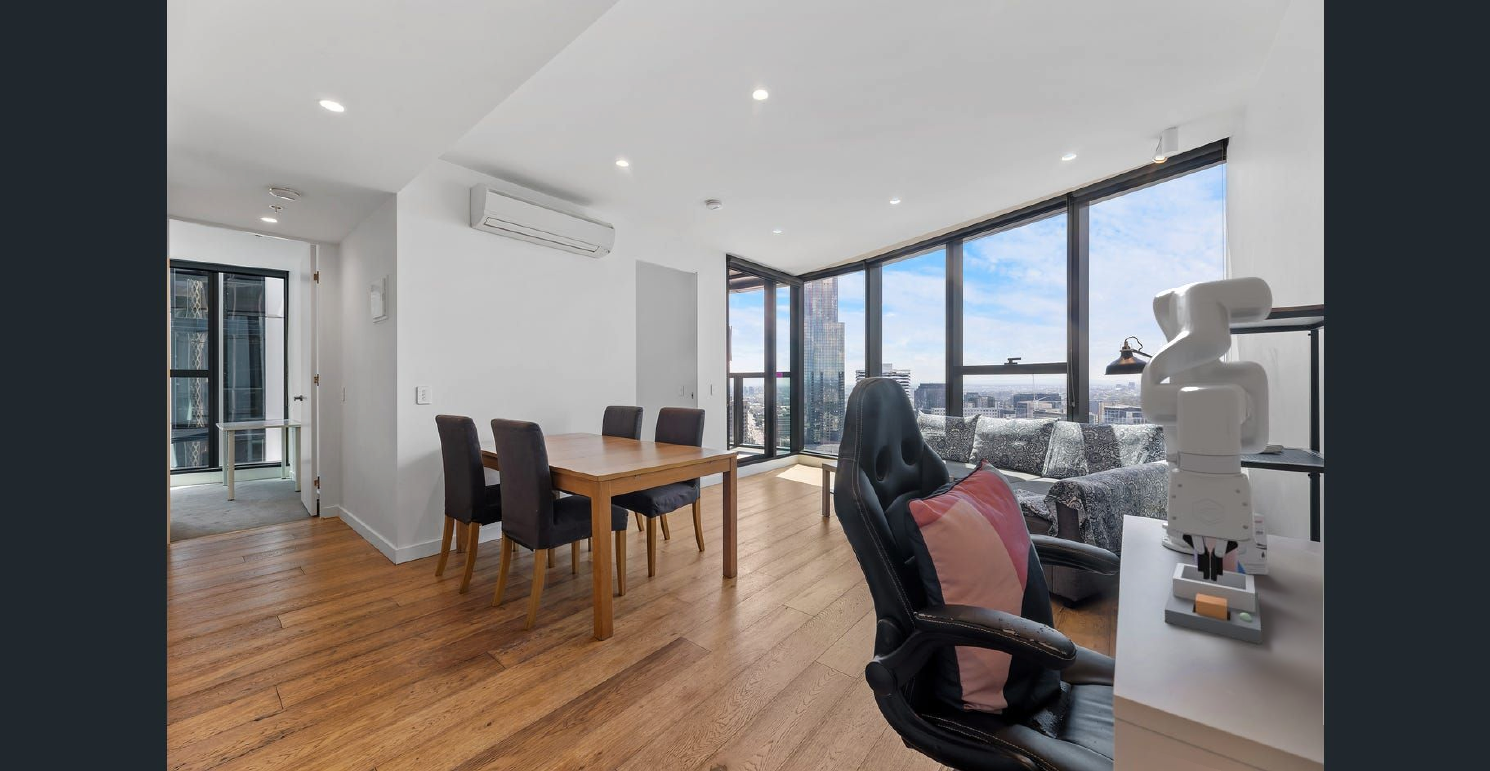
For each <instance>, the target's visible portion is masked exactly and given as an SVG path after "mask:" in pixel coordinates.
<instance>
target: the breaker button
mask: <svg viewBox="0 0 1490 771" xmlns="http://www.w3.org/2000/svg"><path fill="white" fill-rule="evenodd" d="M1195 602H1196V613H1197V614H1201V615H1206V616H1211V617H1215V618H1220V619H1224V620H1227V599H1223V598H1218V597H1213V596H1208V595H1203V594H1198V593H1197V595H1196V600H1195Z"/></svg>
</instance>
